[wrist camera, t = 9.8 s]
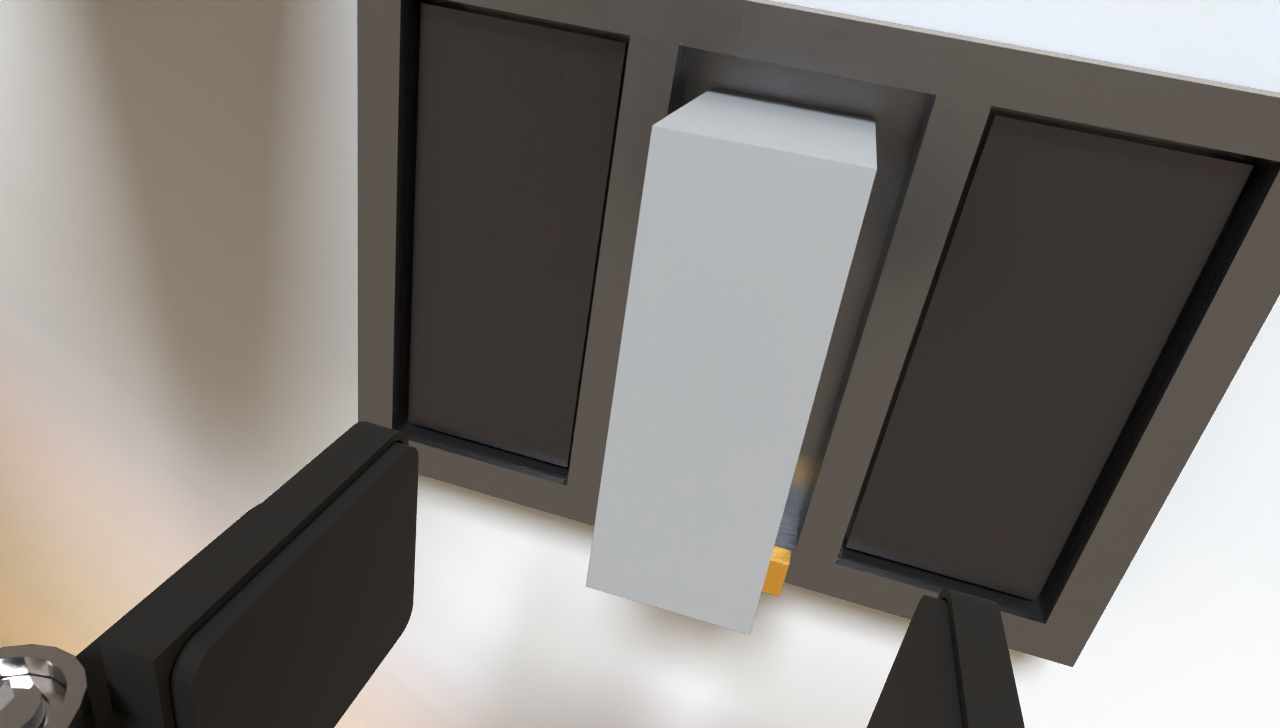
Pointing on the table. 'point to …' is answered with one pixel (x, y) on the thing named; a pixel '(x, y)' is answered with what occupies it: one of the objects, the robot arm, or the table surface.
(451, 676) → the table surface
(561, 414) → the rack
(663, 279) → the rectangular block
